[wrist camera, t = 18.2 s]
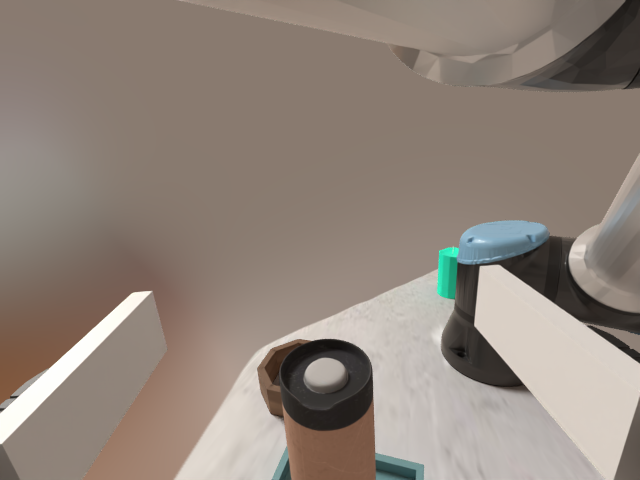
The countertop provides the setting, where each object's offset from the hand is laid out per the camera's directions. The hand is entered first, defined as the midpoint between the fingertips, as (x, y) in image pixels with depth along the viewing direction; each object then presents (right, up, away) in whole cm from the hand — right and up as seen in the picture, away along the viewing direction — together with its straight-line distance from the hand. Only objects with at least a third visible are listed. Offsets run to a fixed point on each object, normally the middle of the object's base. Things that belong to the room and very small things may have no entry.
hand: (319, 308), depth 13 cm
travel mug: (+2, -26, +19) cm, 33 cm away
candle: (+31, -10, +64) cm, 72 cm away
